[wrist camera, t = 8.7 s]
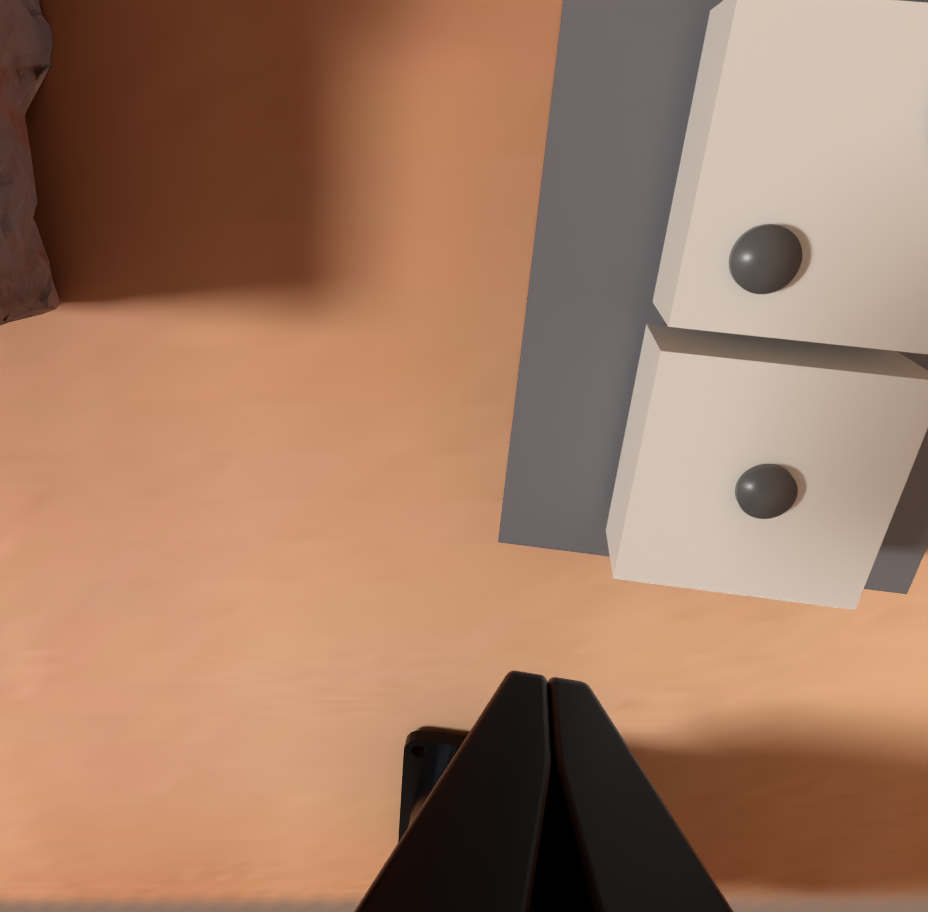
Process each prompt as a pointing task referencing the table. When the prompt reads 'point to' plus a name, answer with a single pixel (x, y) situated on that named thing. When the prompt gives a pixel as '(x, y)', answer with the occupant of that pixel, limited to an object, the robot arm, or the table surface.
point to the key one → (762, 464)
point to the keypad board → (618, 276)
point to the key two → (805, 177)
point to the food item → (21, 163)
